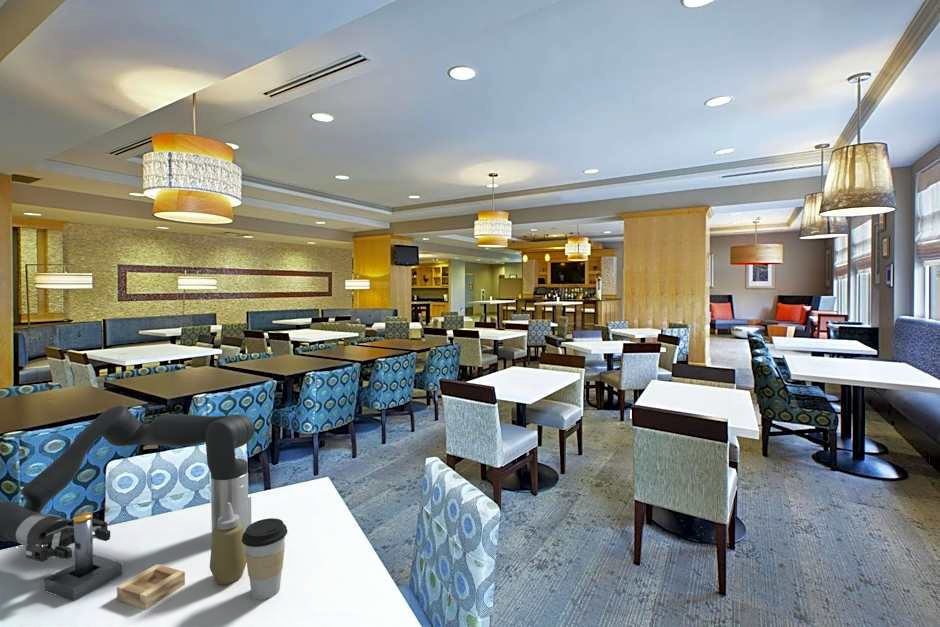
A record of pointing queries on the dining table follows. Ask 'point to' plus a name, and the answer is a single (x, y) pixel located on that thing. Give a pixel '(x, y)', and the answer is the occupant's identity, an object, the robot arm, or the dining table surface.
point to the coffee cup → (265, 556)
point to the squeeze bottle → (228, 548)
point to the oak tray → (150, 586)
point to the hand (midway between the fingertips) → (89, 544)
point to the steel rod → (83, 543)
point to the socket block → (83, 579)
